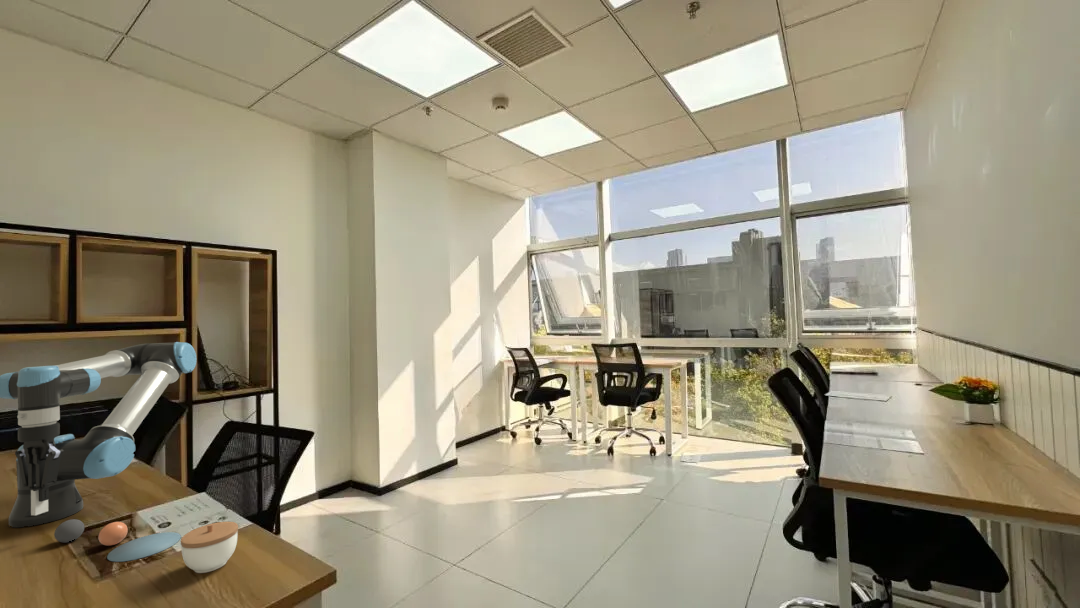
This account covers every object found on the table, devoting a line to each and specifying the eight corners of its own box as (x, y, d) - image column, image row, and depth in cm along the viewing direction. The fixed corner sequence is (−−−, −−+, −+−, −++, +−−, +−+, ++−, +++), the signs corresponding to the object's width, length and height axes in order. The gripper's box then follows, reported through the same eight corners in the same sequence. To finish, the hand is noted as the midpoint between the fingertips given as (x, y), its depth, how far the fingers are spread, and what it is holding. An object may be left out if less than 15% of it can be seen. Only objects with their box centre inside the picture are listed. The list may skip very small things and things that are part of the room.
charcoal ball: (49, 545, 117) (48, 524, 117) (76, 535, 122) (75, 514, 122) (62, 547, 115) (62, 526, 115) (89, 537, 120) (89, 516, 121)
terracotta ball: (93, 548, 114) (92, 526, 114) (118, 537, 120) (118, 517, 120) (107, 551, 113) (107, 529, 113) (133, 540, 118) (132, 519, 118)
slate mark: (92, 557, 110) (92, 556, 110) (156, 530, 123) (156, 529, 123) (132, 565, 106) (132, 564, 106) (193, 536, 119) (193, 535, 119)
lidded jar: (201, 555, 109) (200, 516, 109) (248, 551, 110) (247, 512, 110) (169, 581, 98) (168, 538, 99) (221, 577, 99) (220, 534, 99)
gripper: (1, 427, 118) (1, 518, 118) (40, 427, 116) (41, 520, 115) (38, 420, 126) (38, 506, 125) (75, 421, 123) (76, 508, 123)
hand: (39, 513), depth 120 cm, fingers closed
